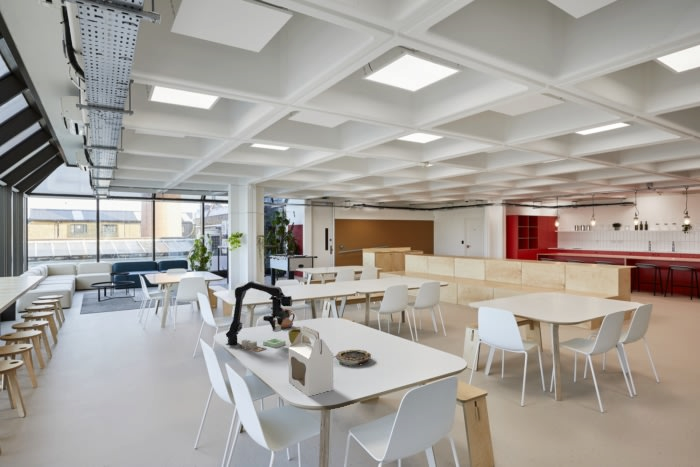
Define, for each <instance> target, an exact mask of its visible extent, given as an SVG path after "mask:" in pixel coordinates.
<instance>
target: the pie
mask: <svg viewBox="0 0 700 467" xmlns="http://www.w3.org/2000/svg"><path fill="white" fill-rule="evenodd" d="M371 356H372V354H371V353H370V352H367V351H366V350H364V349H347V350H342V351H341V350H340V351H338V353H337V354H336V355H333V359H334V358H336V359H337V361H339V362H340V363H342V364H341V365H344V364H346V365H345V366H348V365H350V366H349V367H353V366H352V365H359V366H361V365H360V364H363V365H365V364H364V363H366V362H368V361H369V362H370V360H369V359H371ZM369 362H368V363H369ZM366 364H367V363H366Z"/></svg>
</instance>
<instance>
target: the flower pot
mask: <svg viewBox="0 0 700 467" xmlns="http://www.w3.org/2000/svg"><path fill="white" fill-rule="evenodd" d="M300 329H301V328H299V329H298V328H296V329H294V328H291V330H289V331H288V339H289V342H290V345H291V344H292V343H293V341H294V340H295V338H296V337H297V335H298V334H299V333H300Z"/></svg>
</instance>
